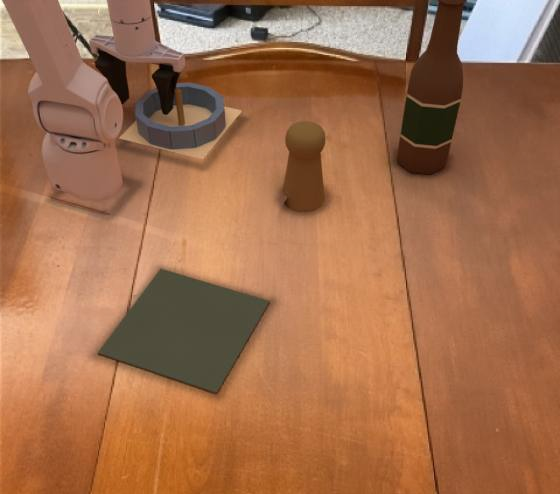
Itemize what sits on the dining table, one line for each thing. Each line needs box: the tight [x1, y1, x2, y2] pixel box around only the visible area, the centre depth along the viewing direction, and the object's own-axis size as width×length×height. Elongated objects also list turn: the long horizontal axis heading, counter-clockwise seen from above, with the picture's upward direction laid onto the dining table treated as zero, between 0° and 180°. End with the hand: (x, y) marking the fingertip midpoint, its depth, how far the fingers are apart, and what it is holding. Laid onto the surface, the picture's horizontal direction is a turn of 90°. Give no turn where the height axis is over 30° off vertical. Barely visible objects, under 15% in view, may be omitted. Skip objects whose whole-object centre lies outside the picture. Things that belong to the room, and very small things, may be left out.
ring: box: [134, 81, 226, 149], centre depth 103 cm, size 13×13×3 cm
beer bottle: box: [396, 0, 468, 175], centre depth 91 cm, size 8×8×24 cm
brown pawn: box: [282, 120, 326, 213], centre depth 91 cm, size 6×6×11 cm
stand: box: [118, 88, 243, 160], centre depth 102 cm, size 14×14×7 cm
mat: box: [97, 268, 271, 395], centre depth 80 cm, size 15×15×1 cm
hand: (145, 106), depth 104 cm, fingers open, 7 cm apart
